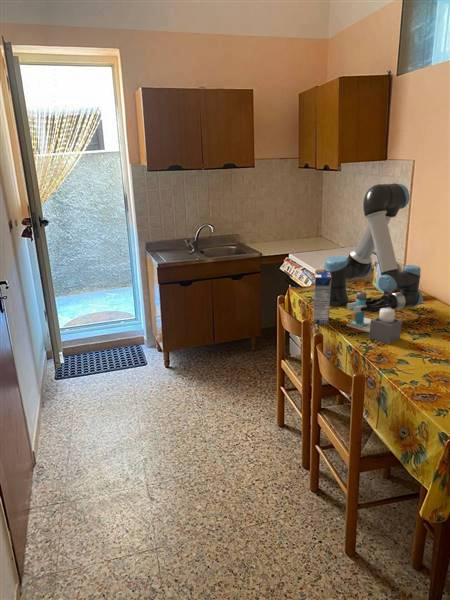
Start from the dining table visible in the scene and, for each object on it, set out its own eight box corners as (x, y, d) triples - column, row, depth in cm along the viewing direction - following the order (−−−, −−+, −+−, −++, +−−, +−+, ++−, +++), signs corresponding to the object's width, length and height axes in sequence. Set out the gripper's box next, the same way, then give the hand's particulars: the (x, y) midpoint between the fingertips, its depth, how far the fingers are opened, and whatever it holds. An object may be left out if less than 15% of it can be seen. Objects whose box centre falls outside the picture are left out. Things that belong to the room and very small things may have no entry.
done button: (375, 321, 186) (377, 310, 184) (383, 318, 190) (384, 307, 188) (389, 325, 182) (390, 313, 180) (396, 321, 186) (398, 310, 184)
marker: (352, 321, 202) (354, 293, 198) (357, 319, 205) (360, 291, 201) (360, 323, 199) (363, 295, 195) (365, 321, 202) (368, 293, 198)
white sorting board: (346, 325, 202) (346, 323, 202) (363, 318, 211) (363, 316, 211) (374, 334, 192) (375, 332, 192) (391, 326, 201) (391, 324, 201)
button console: (369, 337, 188) (370, 320, 186) (380, 332, 194) (381, 314, 192) (389, 344, 182) (391, 325, 180) (399, 338, 188) (402, 320, 185)
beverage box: (312, 324, 204) (315, 277, 197) (313, 316, 214) (315, 271, 208) (328, 325, 203) (331, 278, 196) (327, 316, 213) (330, 271, 206)
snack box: (393, 295, 246) (396, 268, 241) (383, 295, 246) (385, 268, 241) (381, 284, 266) (383, 259, 261) (371, 284, 266) (373, 259, 261)
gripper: (405, 315, 200) (362, 322, 191) (378, 304, 215) (338, 310, 207) (407, 299, 198) (364, 305, 189) (380, 289, 213) (339, 294, 204)
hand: (350, 308), depth 198 cm, fingers open, 4 cm apart
